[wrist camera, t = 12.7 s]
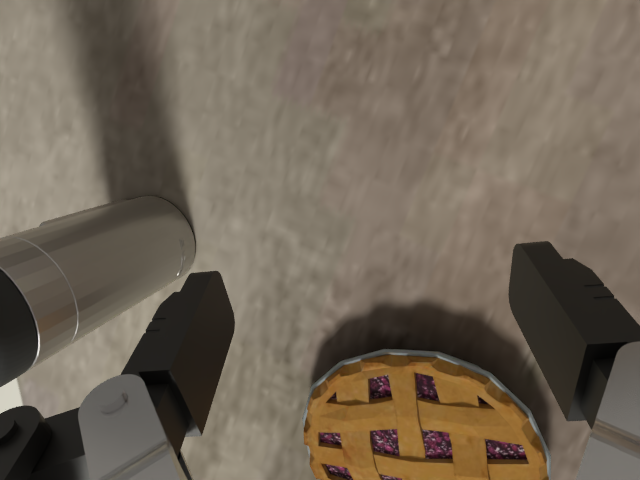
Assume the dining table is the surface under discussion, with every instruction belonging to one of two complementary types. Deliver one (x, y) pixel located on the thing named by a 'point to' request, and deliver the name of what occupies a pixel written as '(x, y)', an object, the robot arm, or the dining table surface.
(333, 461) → the pie
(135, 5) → the dining table surface
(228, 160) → the dining table surface
